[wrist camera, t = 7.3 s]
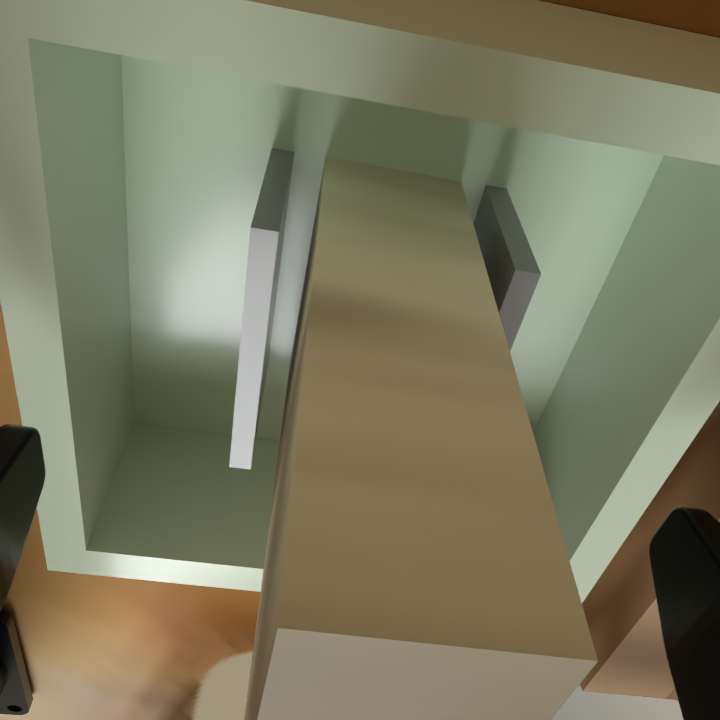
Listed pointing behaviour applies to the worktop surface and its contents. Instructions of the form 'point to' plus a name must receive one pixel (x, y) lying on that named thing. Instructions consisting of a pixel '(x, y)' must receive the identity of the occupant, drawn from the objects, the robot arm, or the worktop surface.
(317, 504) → the block
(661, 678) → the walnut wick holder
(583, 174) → the green open tray
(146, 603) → the worktop surface
